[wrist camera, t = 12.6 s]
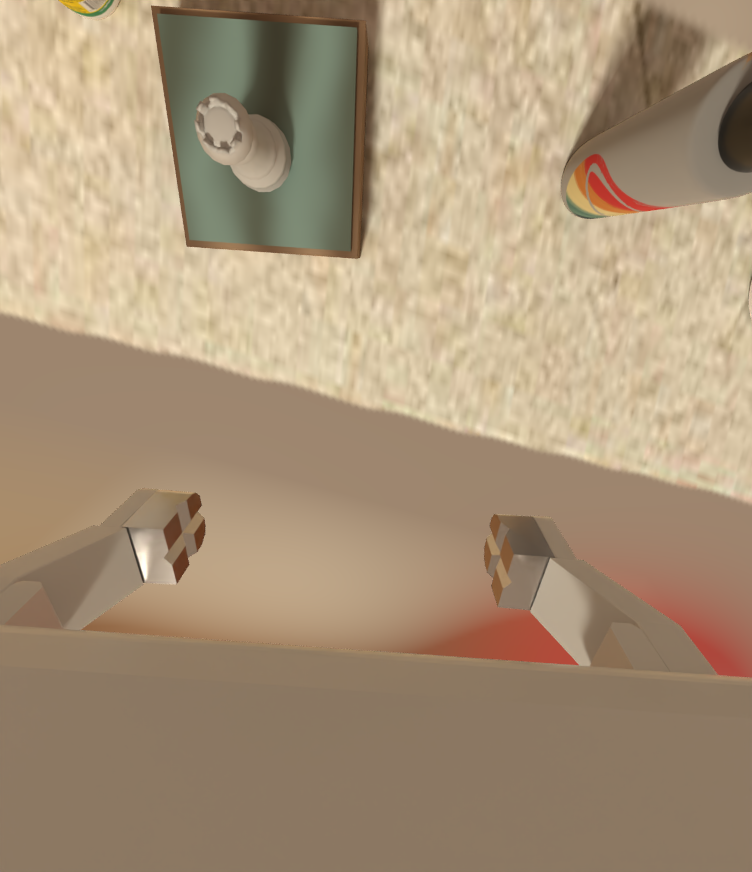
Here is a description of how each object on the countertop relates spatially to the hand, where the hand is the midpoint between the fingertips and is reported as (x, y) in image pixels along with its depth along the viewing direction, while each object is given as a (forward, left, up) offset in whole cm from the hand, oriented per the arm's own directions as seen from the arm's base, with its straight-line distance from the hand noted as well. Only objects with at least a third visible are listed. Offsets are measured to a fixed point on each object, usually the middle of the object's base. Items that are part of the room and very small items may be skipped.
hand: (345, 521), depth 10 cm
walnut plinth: (+9, -13, -29) cm, 33 cm away
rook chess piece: (+9, -12, -25) cm, 30 cm away
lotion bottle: (-17, -13, -29) cm, 36 cm away
